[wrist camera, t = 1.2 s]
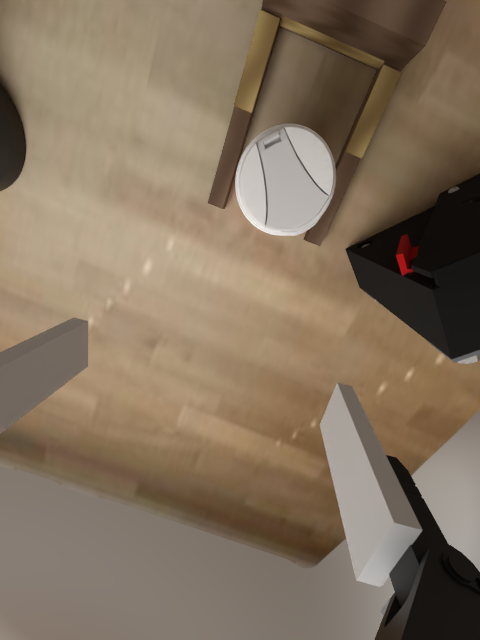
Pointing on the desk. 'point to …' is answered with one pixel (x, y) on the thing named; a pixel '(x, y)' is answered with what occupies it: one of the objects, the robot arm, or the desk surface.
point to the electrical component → (430, 271)
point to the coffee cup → (285, 179)
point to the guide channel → (348, 39)
